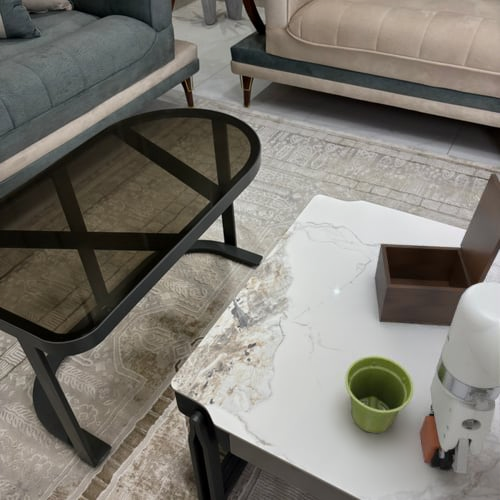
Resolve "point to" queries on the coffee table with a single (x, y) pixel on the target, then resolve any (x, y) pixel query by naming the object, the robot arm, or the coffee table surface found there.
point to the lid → (483, 233)
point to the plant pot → (377, 392)
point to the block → (429, 438)
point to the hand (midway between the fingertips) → (438, 447)
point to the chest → (420, 283)
